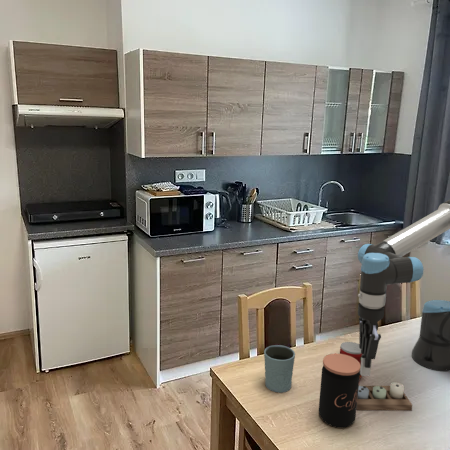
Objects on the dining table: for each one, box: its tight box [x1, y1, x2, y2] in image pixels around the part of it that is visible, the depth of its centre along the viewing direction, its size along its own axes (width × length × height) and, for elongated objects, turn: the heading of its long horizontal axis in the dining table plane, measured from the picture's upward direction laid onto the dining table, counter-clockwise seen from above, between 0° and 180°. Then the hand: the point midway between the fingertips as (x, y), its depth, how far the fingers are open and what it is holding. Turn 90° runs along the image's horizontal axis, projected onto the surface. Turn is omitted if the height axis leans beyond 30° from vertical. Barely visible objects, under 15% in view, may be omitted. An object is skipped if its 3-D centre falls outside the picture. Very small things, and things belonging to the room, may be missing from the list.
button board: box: [356, 384, 413, 412], centre depth 139 cm, size 17×10×2 cm, turn 91°
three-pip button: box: [357, 385, 369, 399], centre depth 139 cm, size 4×4×3 cm
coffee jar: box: [318, 353, 361, 429], centre depth 129 cm, size 11×11×18 cm
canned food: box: [339, 341, 363, 381], centre depth 152 cm, size 8×8×11 cm
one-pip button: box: [389, 381, 405, 399], centre depth 139 cm, size 4×4×3 cm
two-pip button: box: [372, 385, 386, 399], centre depth 139 cm, size 4×4×3 cm
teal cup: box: [263, 344, 296, 393], centre depth 145 cm, size 10×10×12 cm
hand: (365, 374), depth 138 cm, fingers closed
